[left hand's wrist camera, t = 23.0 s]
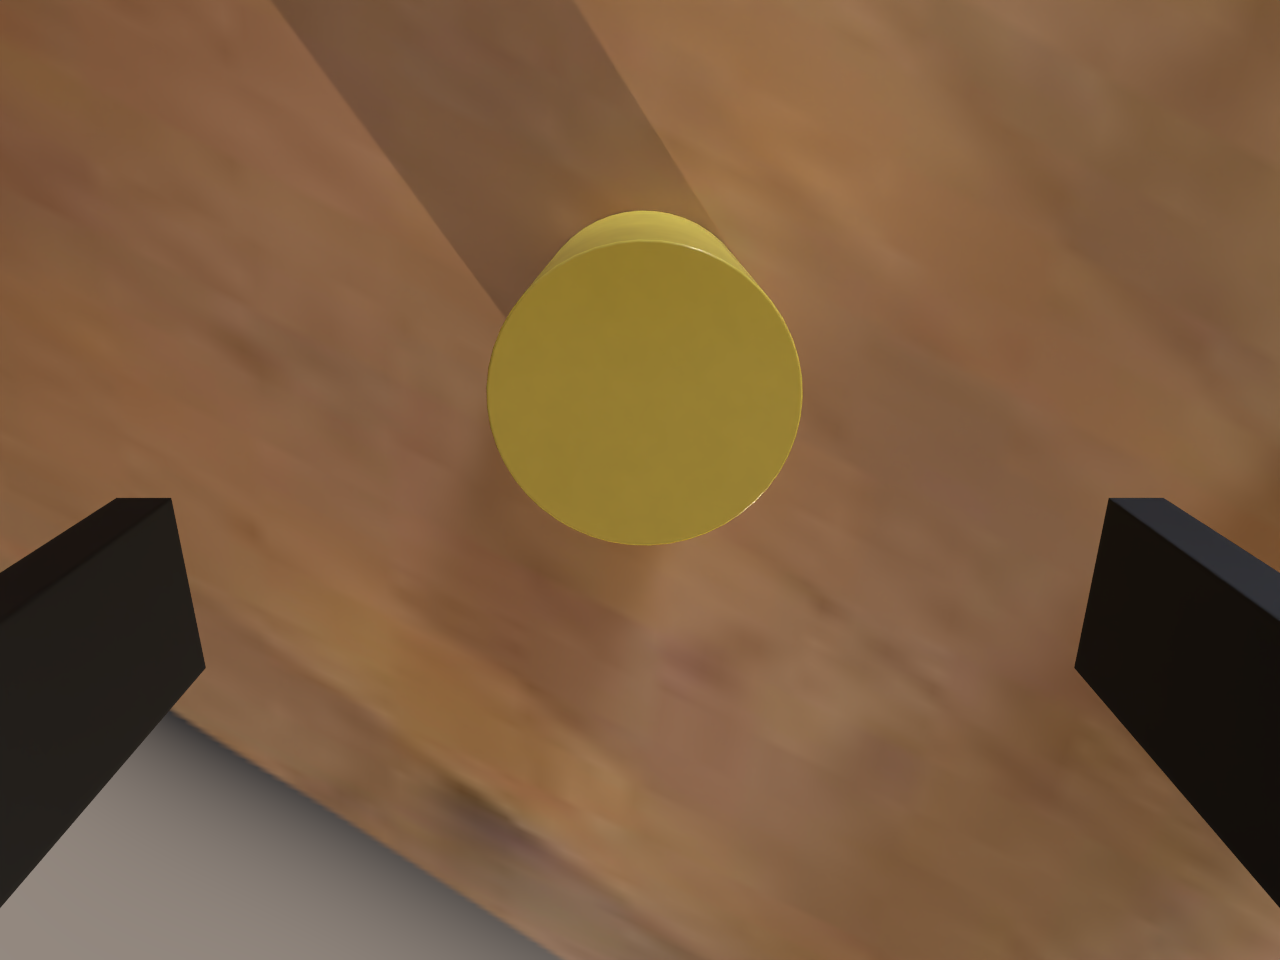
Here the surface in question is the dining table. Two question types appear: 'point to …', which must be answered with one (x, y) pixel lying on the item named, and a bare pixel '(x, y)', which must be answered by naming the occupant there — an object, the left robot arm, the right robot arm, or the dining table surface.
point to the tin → (644, 383)
